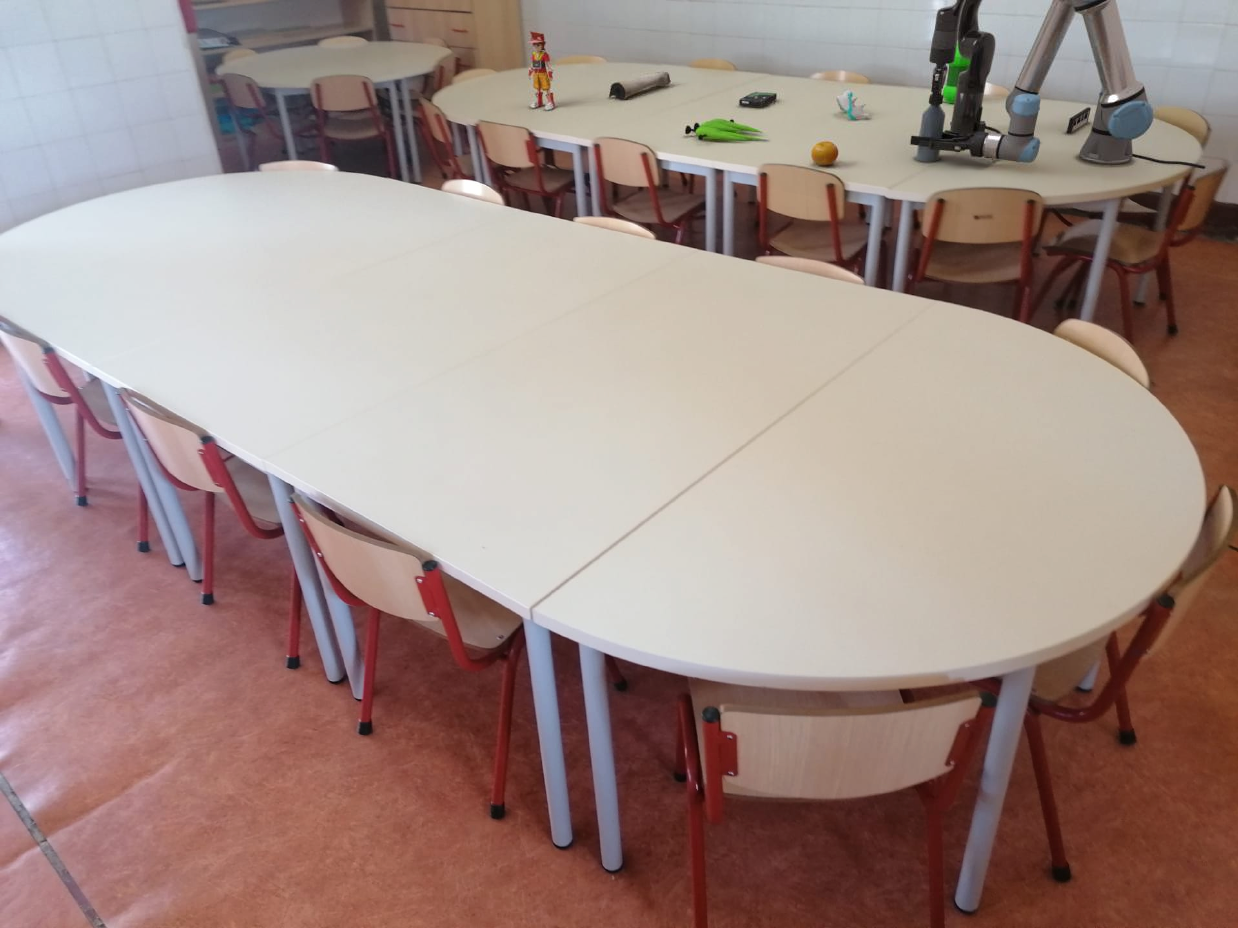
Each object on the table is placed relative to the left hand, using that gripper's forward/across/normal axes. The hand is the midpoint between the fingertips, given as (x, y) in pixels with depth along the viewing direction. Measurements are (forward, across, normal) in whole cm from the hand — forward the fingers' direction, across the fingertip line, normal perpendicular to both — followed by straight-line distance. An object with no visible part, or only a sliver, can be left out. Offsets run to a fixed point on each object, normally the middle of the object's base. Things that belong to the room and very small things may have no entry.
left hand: (935, 103), depth 287 cm
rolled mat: (+19, -70, -133) cm, 152 cm away
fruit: (+18, +14, -31) cm, 38 cm away
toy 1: (+19, -36, -164) cm, 169 cm away
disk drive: (+18, -61, -77) cm, 99 cm away
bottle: (+18, 0, 0) cm, 18 cm away
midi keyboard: (+17, -49, +44) cm, 68 cm away
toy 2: (+18, -10, -72) cm, 75 cm away
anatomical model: (+18, -49, -36) cm, 64 cm away
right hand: (+11, -1, -5) cm, 12 cm away
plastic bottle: (+18, -78, -2) cm, 80 cm away
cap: (-2, 0, 0) cm, 2 cm away
